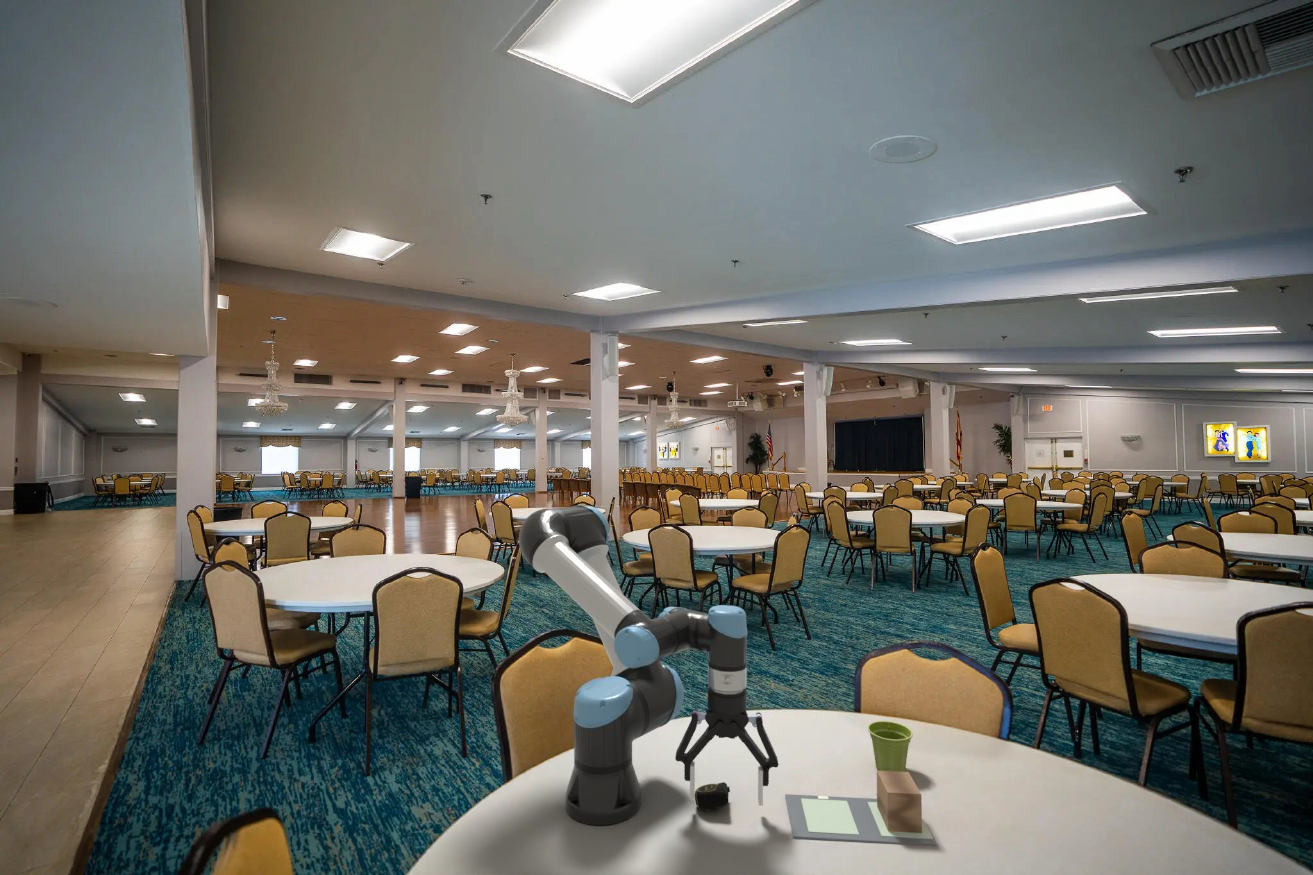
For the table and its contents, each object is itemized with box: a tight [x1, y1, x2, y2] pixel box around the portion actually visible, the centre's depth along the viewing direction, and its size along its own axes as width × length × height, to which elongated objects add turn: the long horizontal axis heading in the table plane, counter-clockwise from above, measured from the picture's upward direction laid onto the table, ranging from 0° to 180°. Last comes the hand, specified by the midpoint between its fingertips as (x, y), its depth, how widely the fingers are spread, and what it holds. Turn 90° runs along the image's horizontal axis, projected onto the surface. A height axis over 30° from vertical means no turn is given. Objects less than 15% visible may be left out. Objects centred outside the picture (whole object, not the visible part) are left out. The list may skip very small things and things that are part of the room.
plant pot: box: [867, 720, 914, 772], centre depth 138 cm, size 9×9×9 cm
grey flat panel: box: [784, 793, 937, 847], centre depth 118 cm, size 25×14×1 cm, turn 84°
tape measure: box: [694, 781, 731, 812], centre depth 123 cm, size 7×7×4 cm
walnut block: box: [876, 769, 923, 833], centre depth 117 cm, size 6×8×7 cm
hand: (726, 799), depth 120 cm, fingers open, 12 cm apart
